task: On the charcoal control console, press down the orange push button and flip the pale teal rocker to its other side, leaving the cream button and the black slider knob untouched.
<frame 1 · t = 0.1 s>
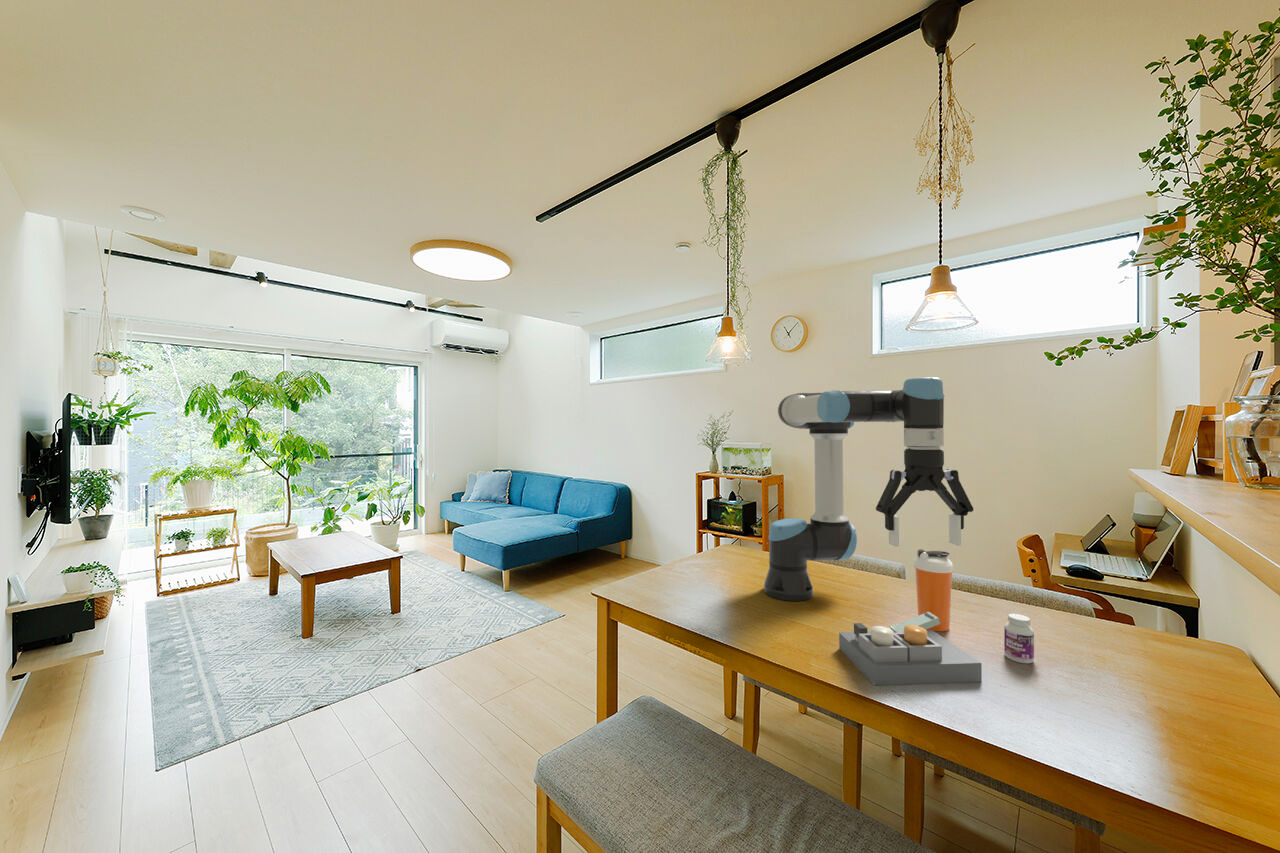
hand: (924, 544, 103), 28 cm above the table, fingers open, 13 cm apart
panel: (905, 664, 106), on the table
button a: (882, 637, 103), point 8 cm above the table, slide at 0.0 cm
button b: (915, 636, 103), point 8 cm above the table, slide at 0.0 cm
rocker: (914, 625, 110), point 7 cm above the table, hinge at 20.0°
pill bottle: (1019, 659, 109), on the table
slider: (860, 630, 110), point 6 cm above the table, slide at 0.0 cm
shaker bottle: (933, 626, 126), on the table
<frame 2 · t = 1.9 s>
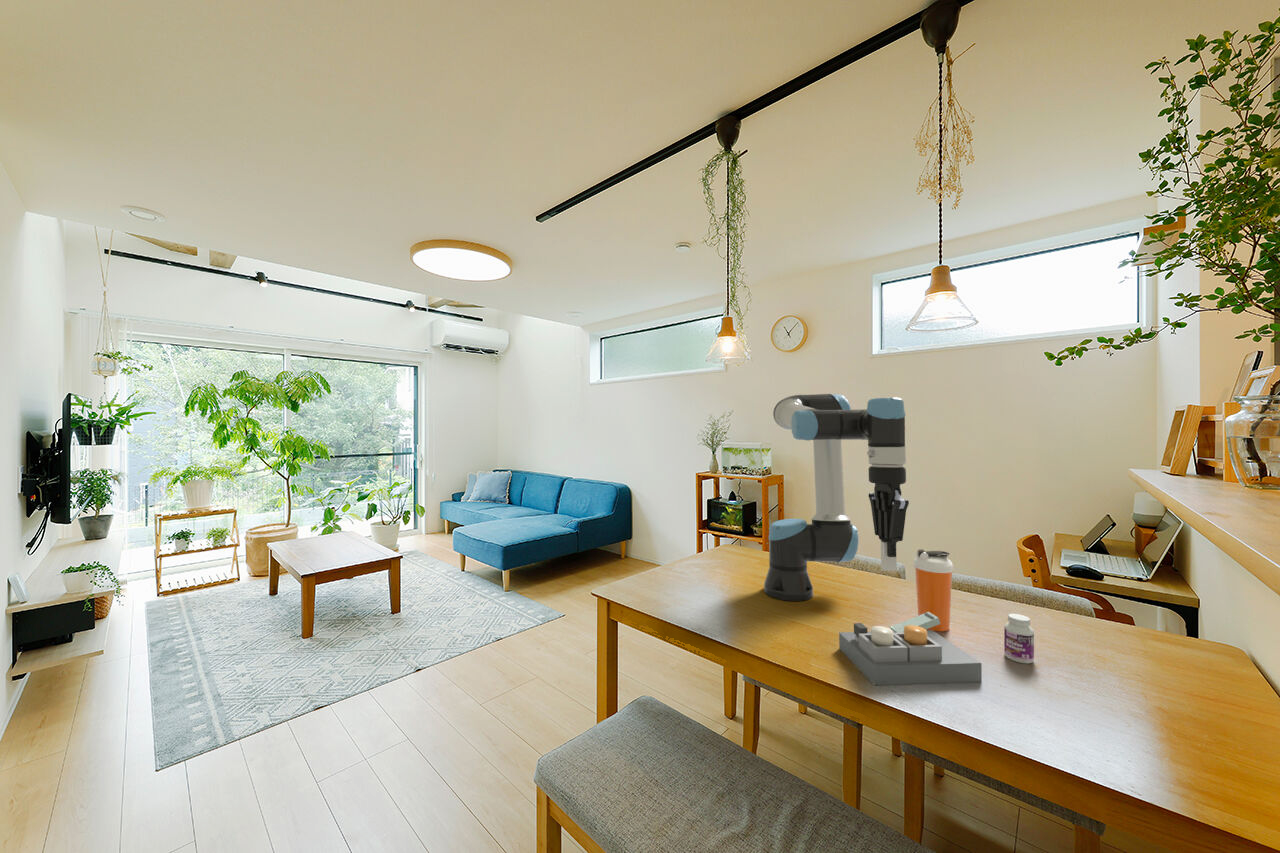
hand: (888, 570, 106), 21 cm above the table, fingers closed
nothing on the table moved.
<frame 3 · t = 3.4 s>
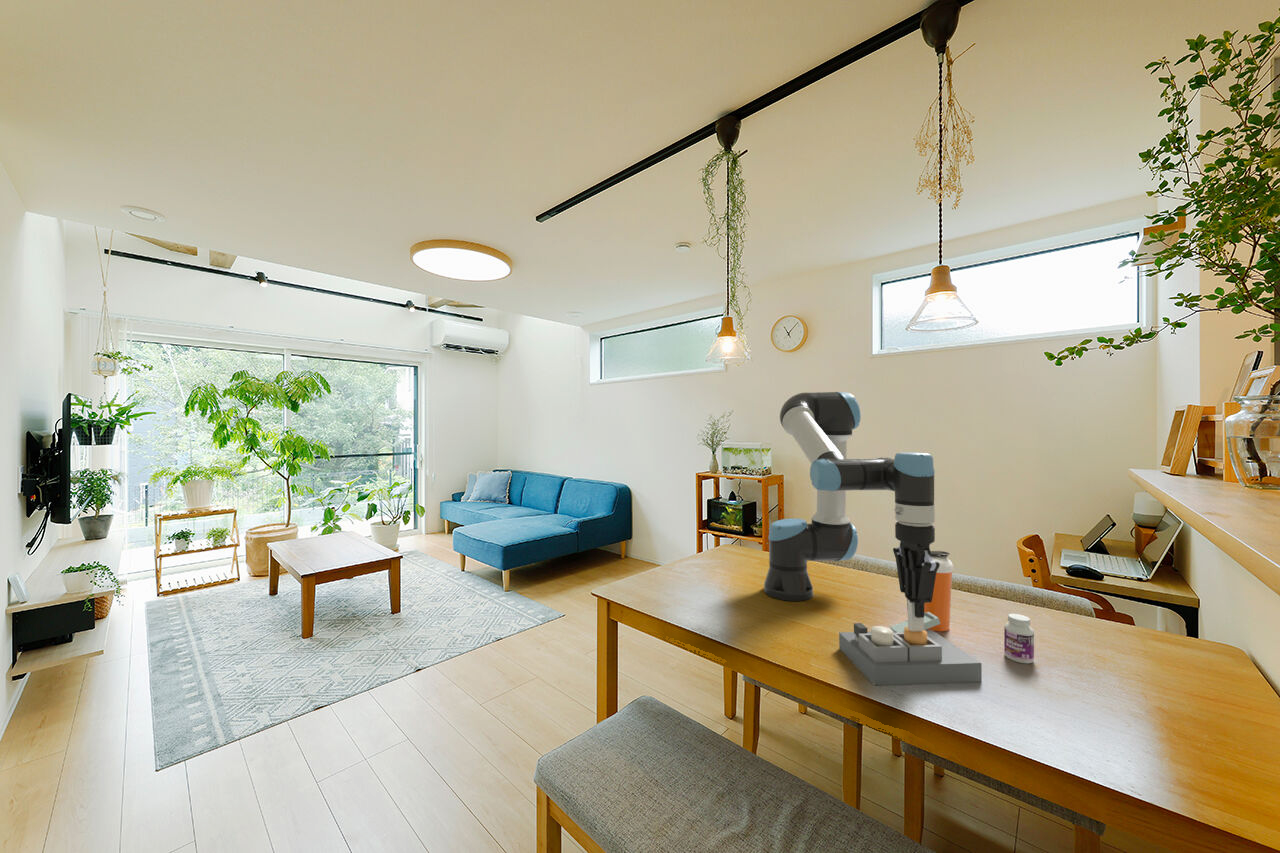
hand: (915, 629, 103), 9 cm above the table, fingers closed
button b: (915, 637, 103), point 7 cm above the table, slide at 0.3 cm, touching gripper
everything else where it was.
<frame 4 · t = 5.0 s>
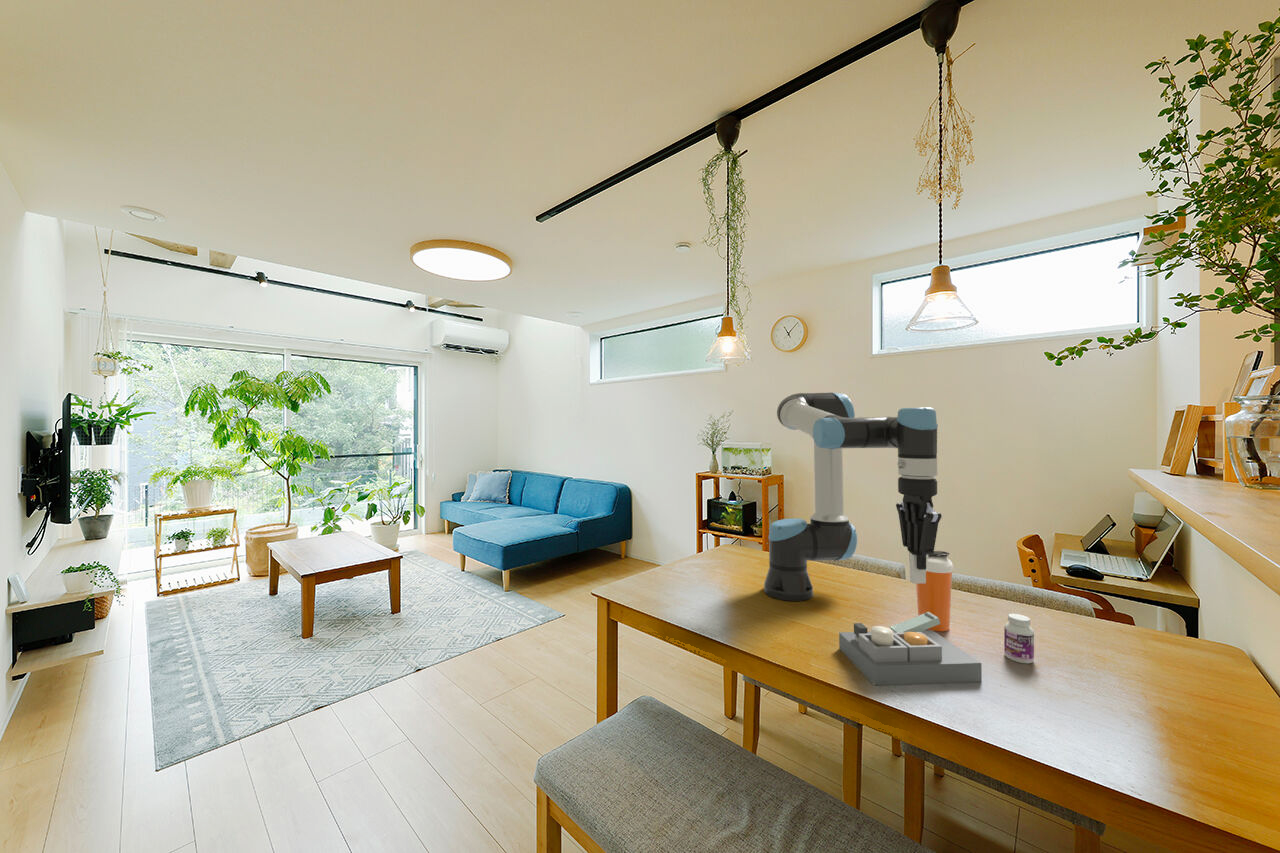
hand: (917, 582, 105), 19 cm above the table, fingers closed
button b: (915, 642, 103), point 6 cm above the table, slide at 1.5 cm
everything else where it was.
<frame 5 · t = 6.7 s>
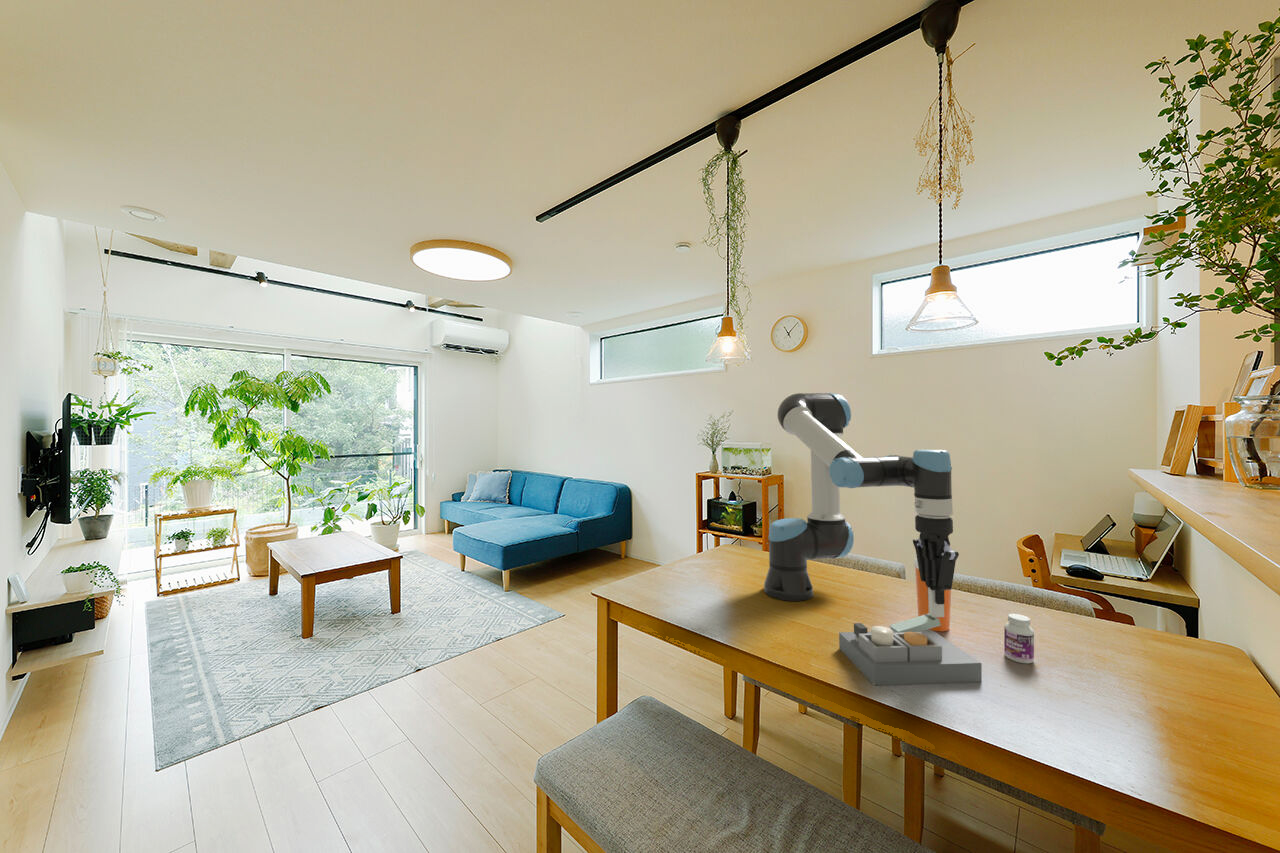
hand: (936, 615, 110), 9 cm above the table, fingers closed
rocker: (914, 625, 110), point 7 cm above the table, hinge at 15.1°, touching gripper
everything else where it was.
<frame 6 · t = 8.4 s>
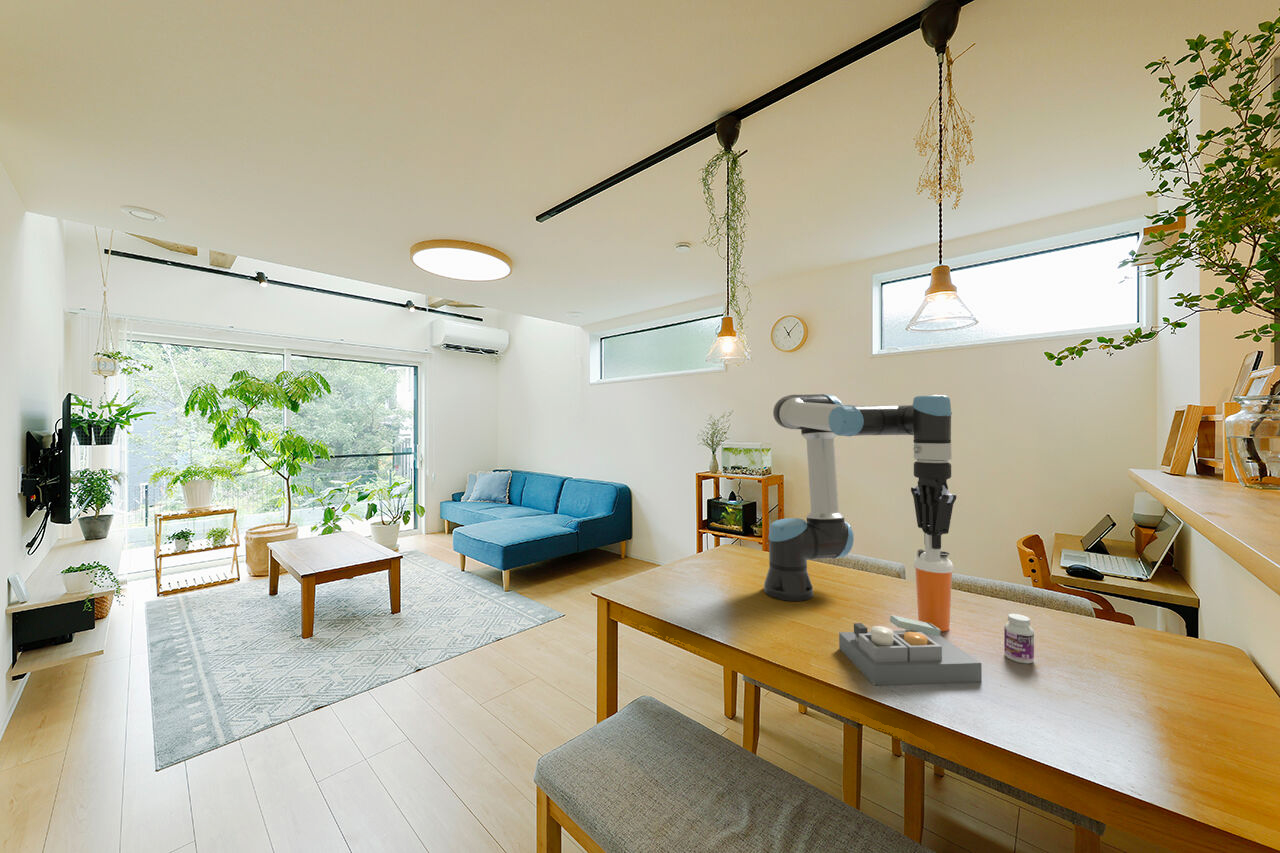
hand: (932, 561, 110), 22 cm above the table, fingers closed
rocker: (915, 625, 110), point 7 cm above the table, hinge at -13.3°
everything else where it was.
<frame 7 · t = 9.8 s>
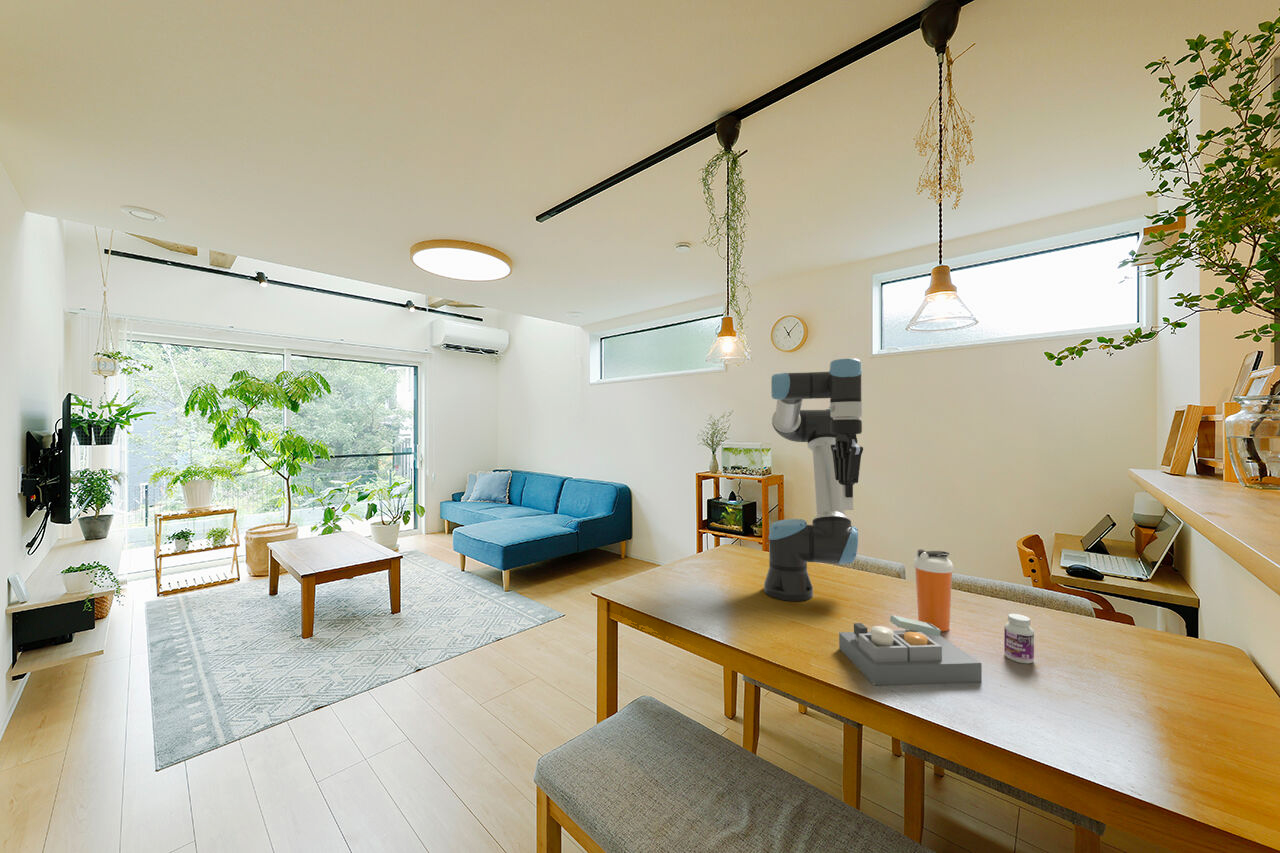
hand: (846, 509, 122), 32 cm above the table, fingers closed
rocker: (915, 625, 110), point 7 cm above the table, hinge at -13.8°
everything else where it was.
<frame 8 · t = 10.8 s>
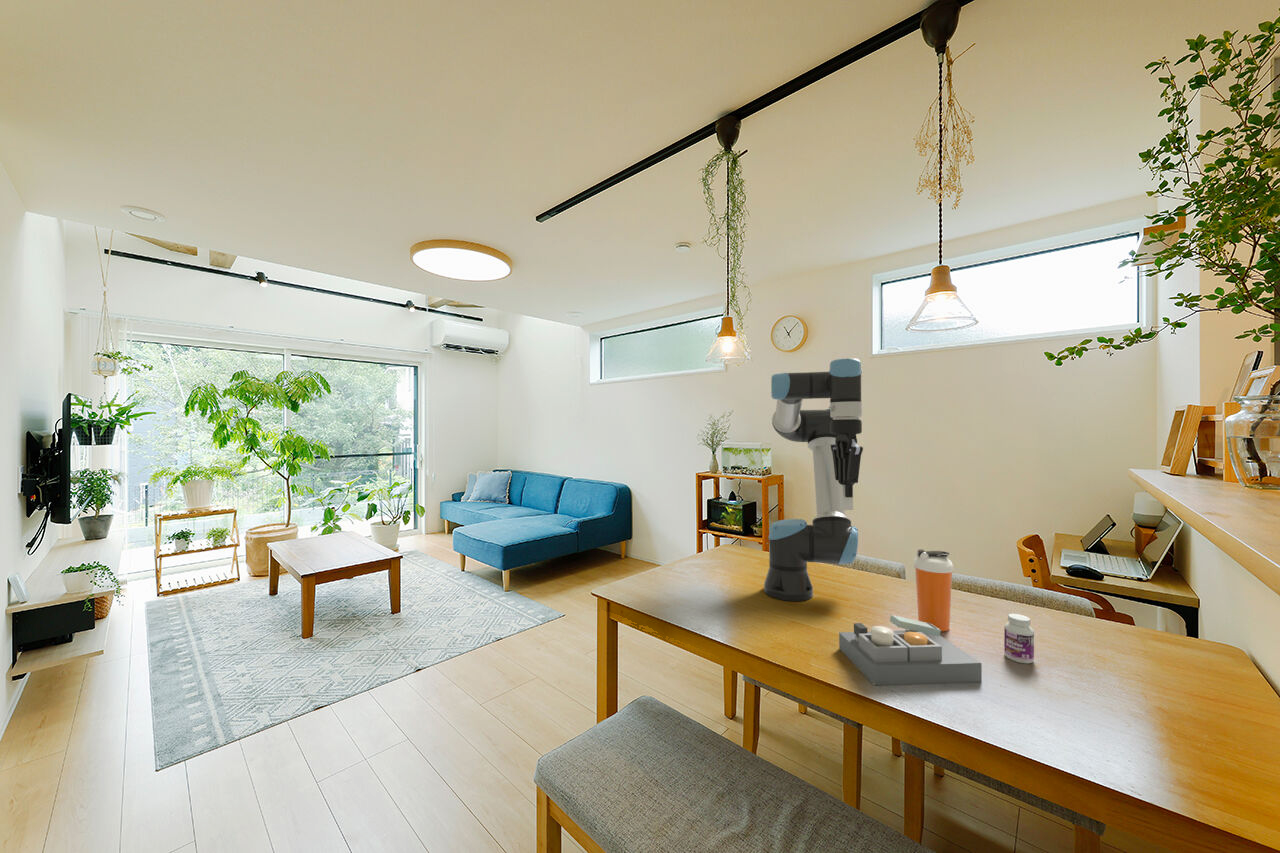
hand: (846, 509, 122), 32 cm above the table, fingers closed
nothing on the table moved.
at the end: button b slide at 1.5 cm; rocker at -14° (first picture: +20°); button a slide at 0.0 cm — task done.
